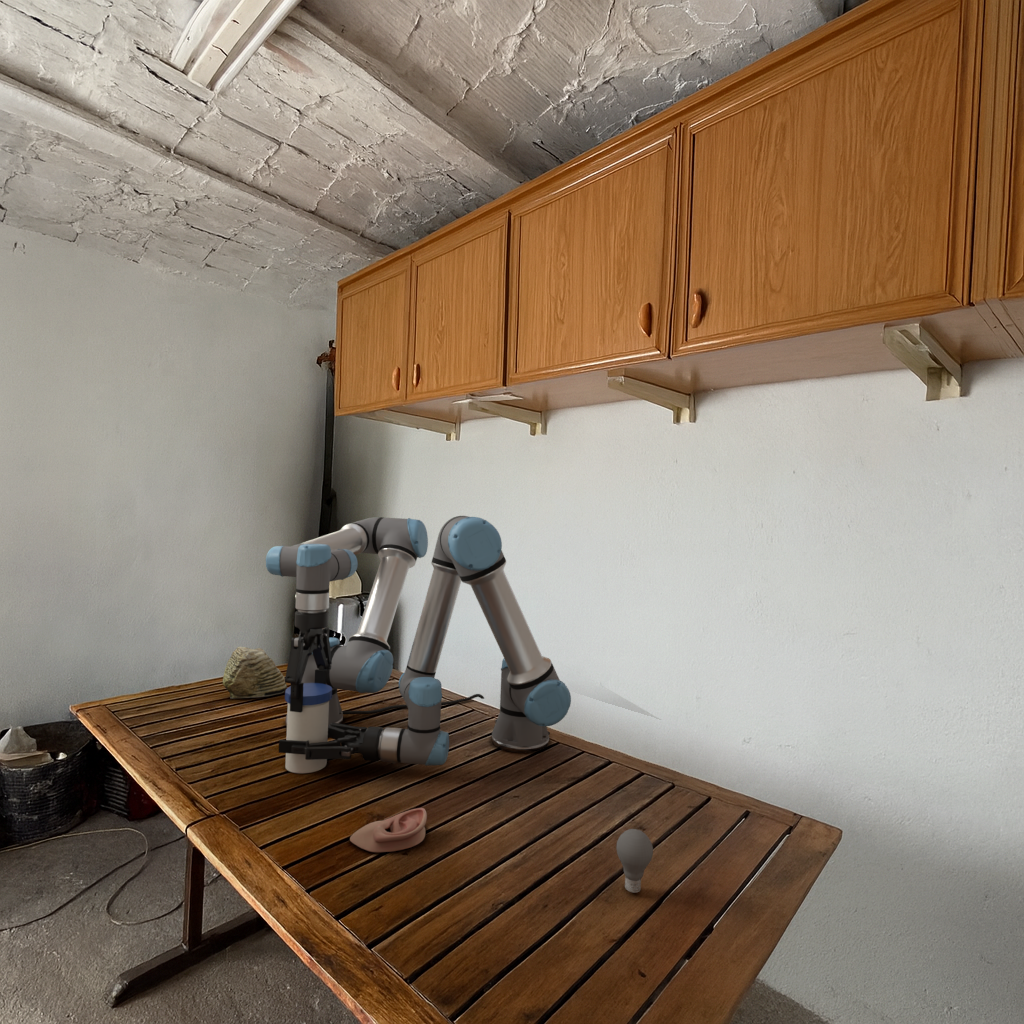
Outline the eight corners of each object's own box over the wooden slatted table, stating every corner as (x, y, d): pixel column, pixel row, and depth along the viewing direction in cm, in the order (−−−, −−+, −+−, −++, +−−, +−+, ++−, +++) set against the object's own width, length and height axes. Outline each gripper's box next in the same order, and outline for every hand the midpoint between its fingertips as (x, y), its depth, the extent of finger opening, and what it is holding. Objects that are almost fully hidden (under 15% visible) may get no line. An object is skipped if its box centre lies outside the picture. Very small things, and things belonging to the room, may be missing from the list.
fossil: (218, 695, 195) (220, 647, 195) (278, 685, 208) (279, 640, 207) (228, 703, 189) (230, 653, 188) (289, 692, 201) (290, 645, 201)
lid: (314, 708, 142) (314, 698, 142) (274, 701, 145) (275, 692, 145) (340, 695, 152) (341, 686, 152) (303, 689, 155) (303, 680, 155)
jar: (283, 759, 151) (286, 688, 151) (324, 754, 155) (326, 685, 155) (286, 775, 143) (289, 700, 143) (329, 770, 147) (331, 697, 146)
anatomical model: (342, 825, 115) (369, 797, 126) (341, 847, 115) (368, 817, 126) (412, 836, 112) (433, 806, 123) (411, 859, 112) (432, 826, 123)
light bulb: (610, 879, 108) (613, 822, 108) (644, 879, 109) (647, 822, 109) (619, 902, 102) (622, 840, 102) (655, 901, 103) (658, 840, 103)
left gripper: (320, 601, 160) (317, 688, 161) (269, 617, 138) (266, 718, 138) (348, 603, 159) (345, 691, 159) (301, 620, 136) (297, 721, 137)
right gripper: (367, 781, 137) (267, 773, 138) (393, 742, 159) (306, 736, 160) (369, 746, 137) (268, 739, 138) (394, 712, 159) (307, 707, 160)
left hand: (308, 703), depth 149 cm, fingers closed on lid, 10 cm apart
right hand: (288, 737), depth 149 cm, fingers closed on jar, 9 cm apart
